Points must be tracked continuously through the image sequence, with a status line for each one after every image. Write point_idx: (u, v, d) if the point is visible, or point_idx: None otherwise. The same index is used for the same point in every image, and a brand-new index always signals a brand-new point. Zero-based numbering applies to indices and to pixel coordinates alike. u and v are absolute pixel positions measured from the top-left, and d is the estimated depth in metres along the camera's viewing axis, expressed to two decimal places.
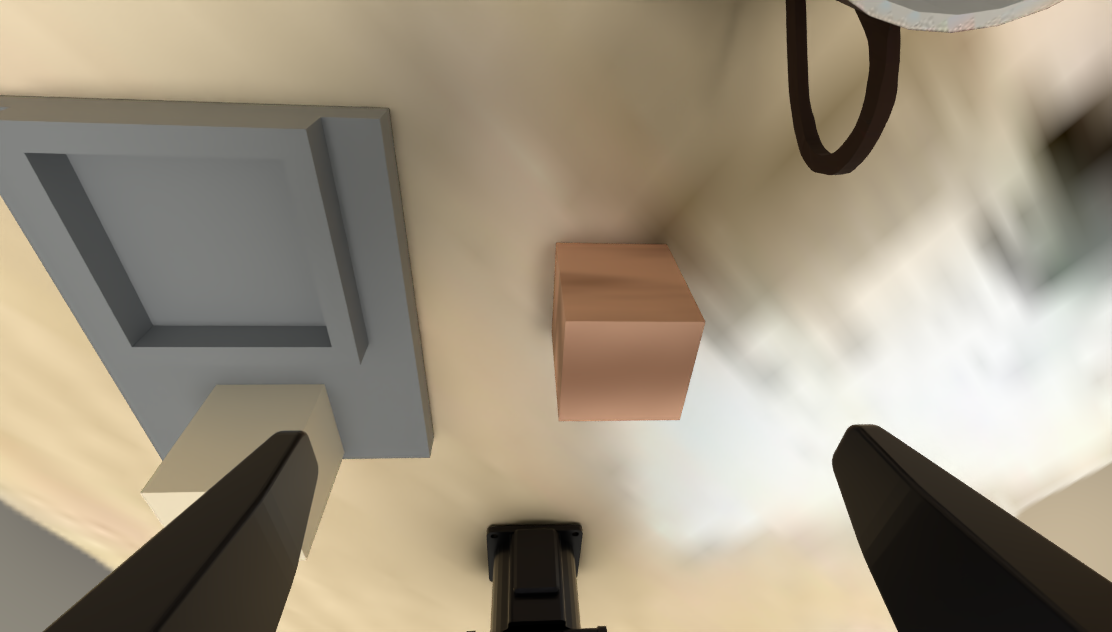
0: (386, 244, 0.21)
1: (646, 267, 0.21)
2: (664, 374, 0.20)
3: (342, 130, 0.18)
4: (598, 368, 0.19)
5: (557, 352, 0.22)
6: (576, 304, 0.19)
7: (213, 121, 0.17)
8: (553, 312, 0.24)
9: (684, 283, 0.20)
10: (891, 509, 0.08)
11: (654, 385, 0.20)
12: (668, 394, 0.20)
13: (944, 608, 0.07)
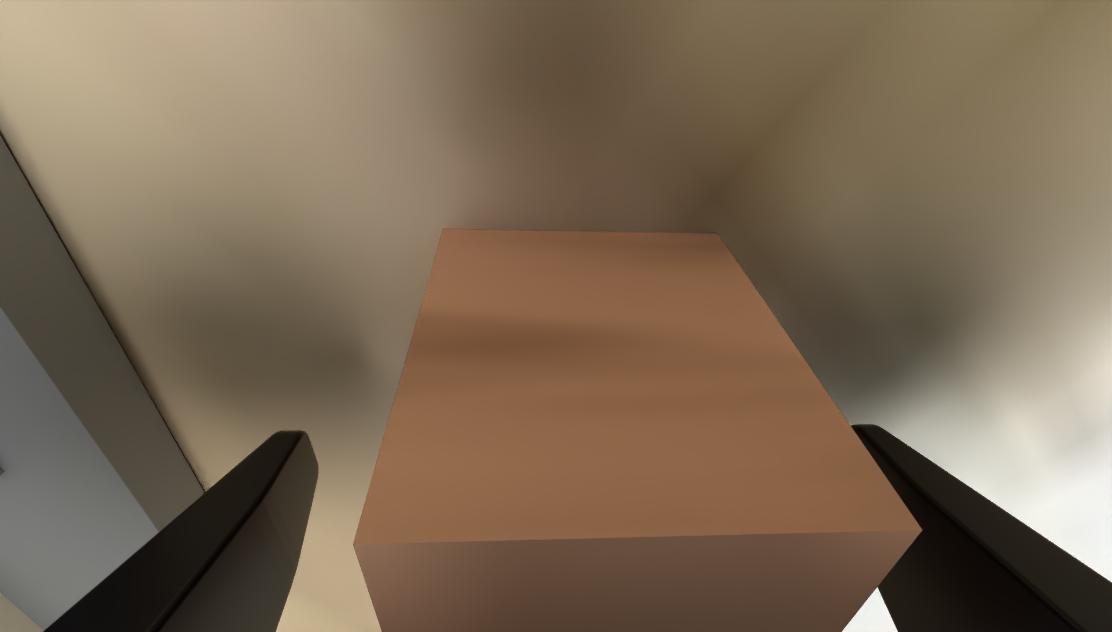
0: None
1: (672, 295, 0.08)
2: None
3: None
4: None
5: None
6: (430, 441, 0.05)
7: None
8: None
9: (791, 348, 0.07)
10: None
11: None
12: None
13: (944, 608, 0.07)
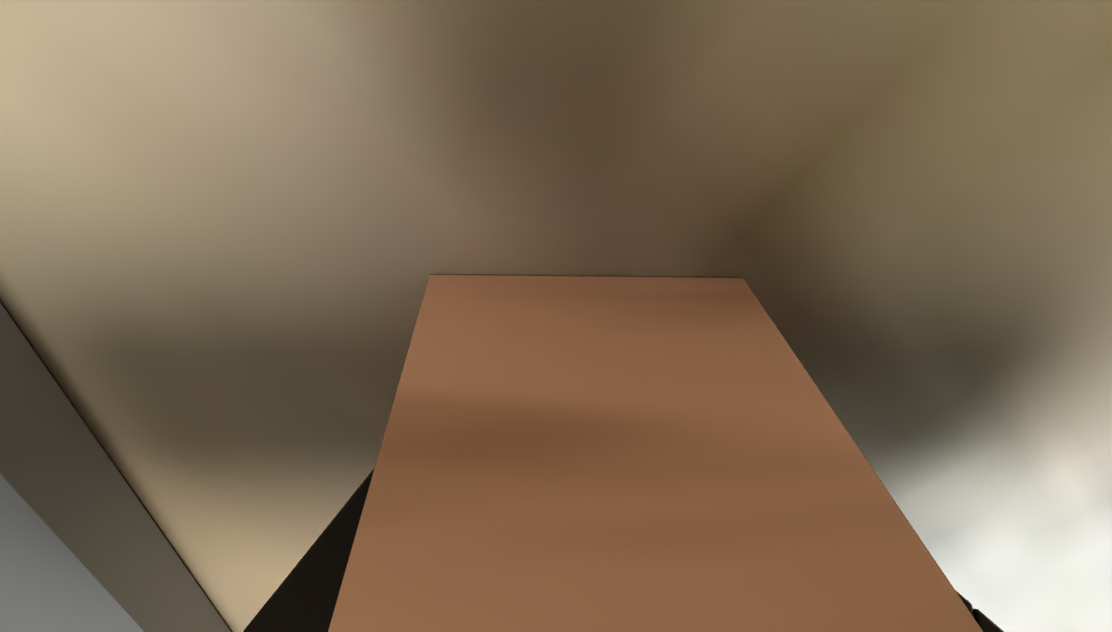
0: None
1: (698, 366, 0.06)
2: None
3: None
4: None
5: None
6: (400, 600, 0.04)
7: None
8: None
9: (847, 441, 0.06)
10: None
11: None
12: None
13: None
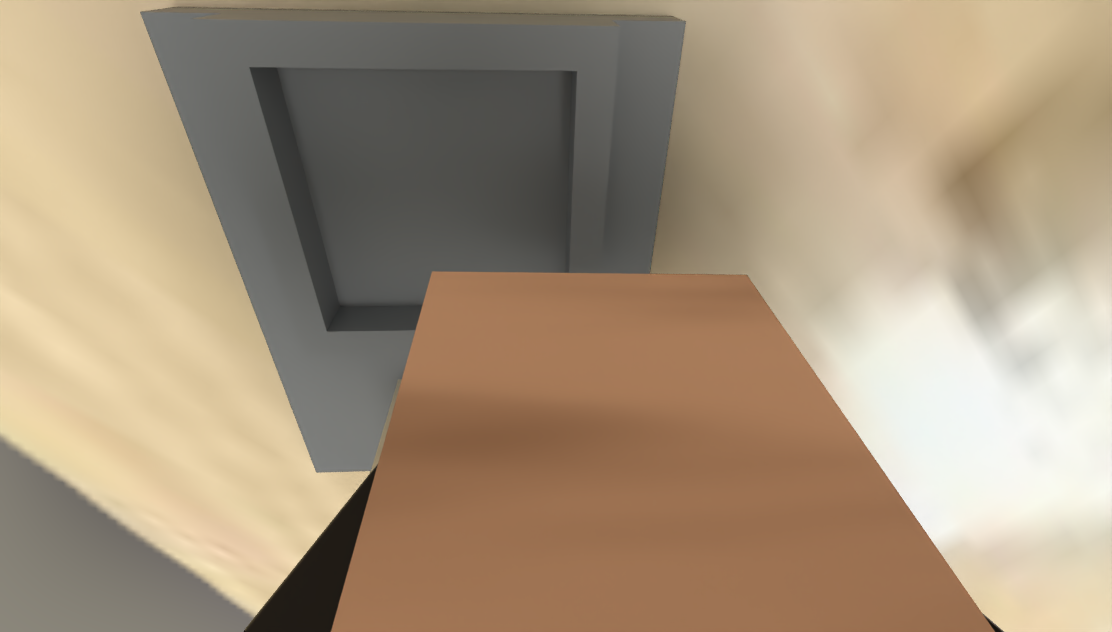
0: (646, 196, 0.16)
1: (703, 362, 0.06)
2: None
3: (634, 39, 0.14)
4: None
5: None
6: (405, 596, 0.04)
7: (491, 21, 0.13)
8: None
9: (853, 438, 0.05)
10: None
11: None
12: None
13: None
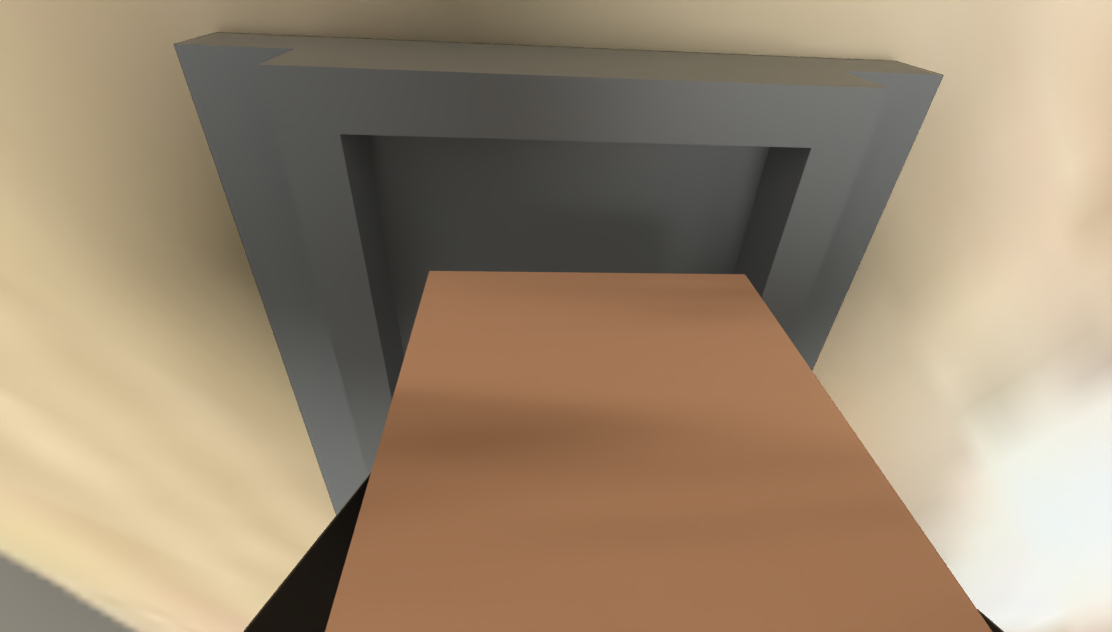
0: (829, 290, 0.13)
1: (701, 361, 0.06)
2: None
3: None
4: None
5: None
6: (399, 597, 0.04)
7: (695, 74, 0.09)
8: None
9: (852, 438, 0.05)
10: None
11: None
12: None
13: None
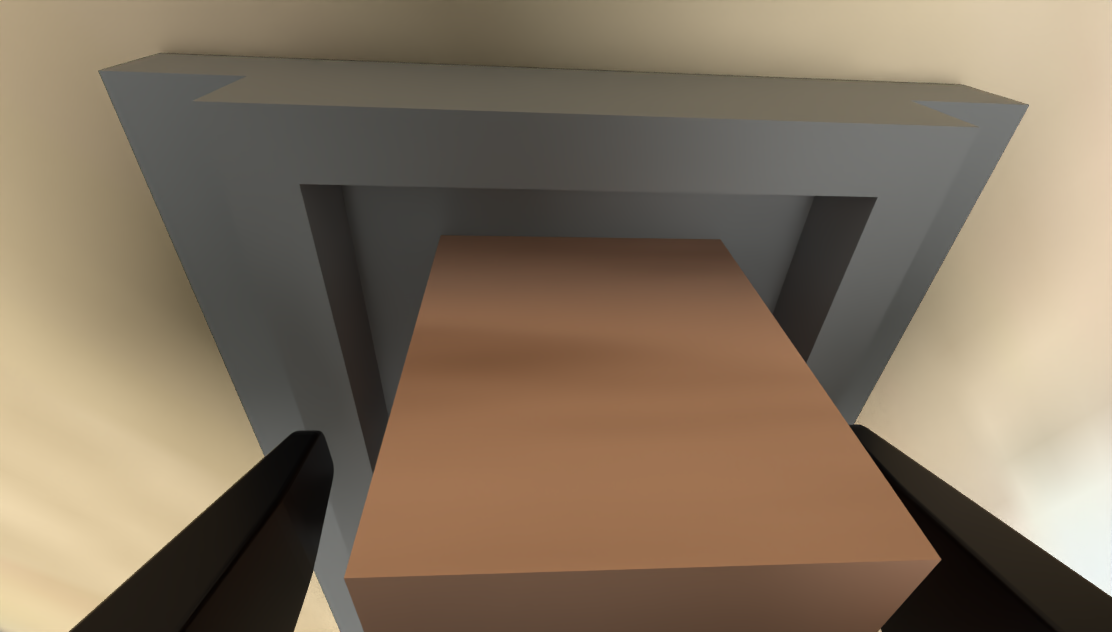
0: (876, 344, 0.11)
1: (676, 305, 0.07)
2: None
3: None
4: None
5: None
6: (425, 464, 0.05)
7: (737, 108, 0.07)
8: None
9: (799, 361, 0.07)
10: None
11: None
12: None
13: (927, 609, 0.07)
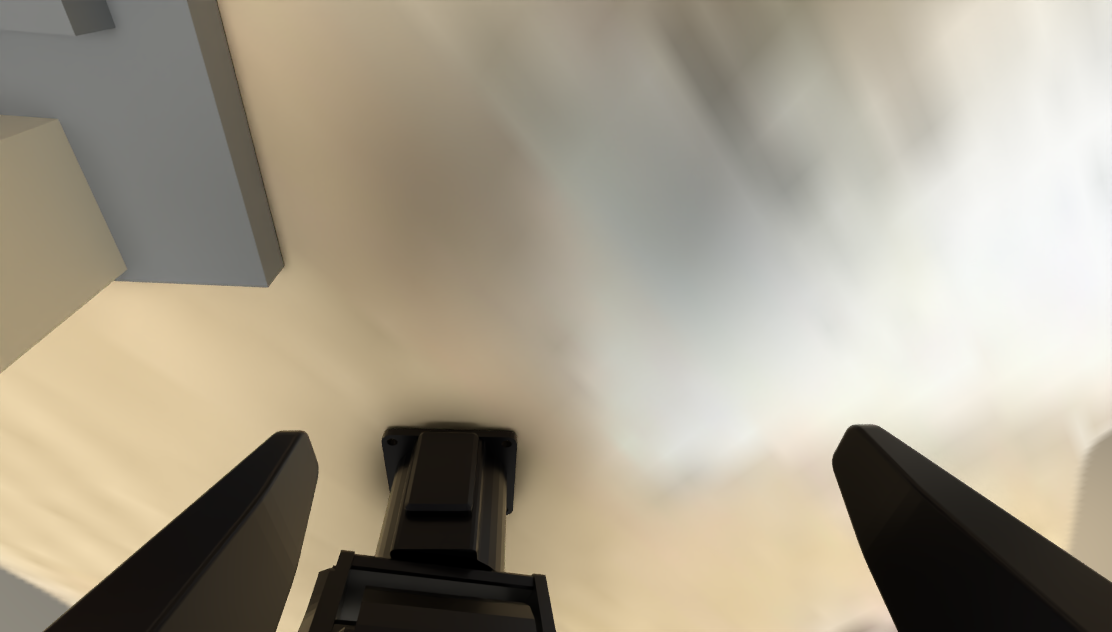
0: None
1: None
2: None
3: None
4: None
5: None
6: None
7: None
8: None
9: None
10: (891, 509, 0.08)
11: None
12: None
13: (944, 608, 0.07)
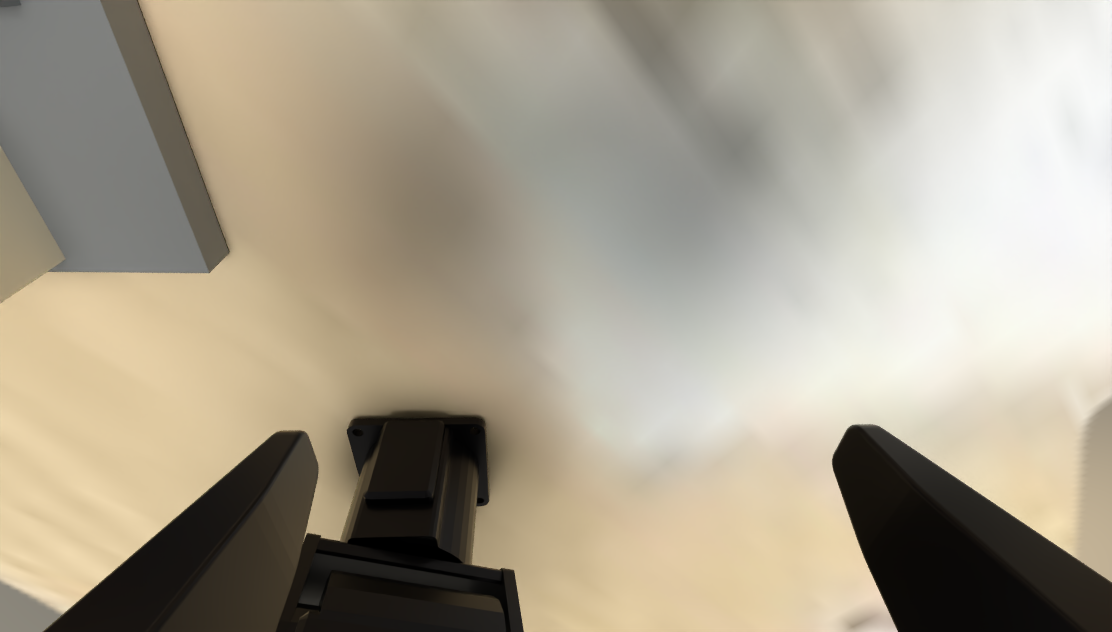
0: None
1: None
2: None
3: None
4: None
5: None
6: None
7: None
8: None
9: None
10: (891, 509, 0.08)
11: None
12: None
13: (944, 608, 0.07)
